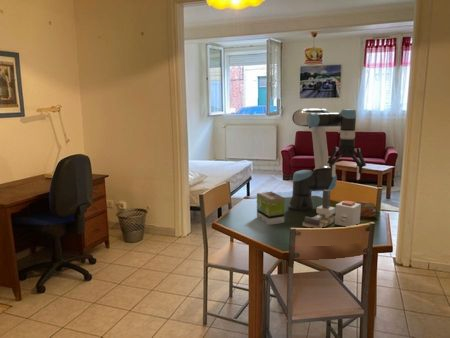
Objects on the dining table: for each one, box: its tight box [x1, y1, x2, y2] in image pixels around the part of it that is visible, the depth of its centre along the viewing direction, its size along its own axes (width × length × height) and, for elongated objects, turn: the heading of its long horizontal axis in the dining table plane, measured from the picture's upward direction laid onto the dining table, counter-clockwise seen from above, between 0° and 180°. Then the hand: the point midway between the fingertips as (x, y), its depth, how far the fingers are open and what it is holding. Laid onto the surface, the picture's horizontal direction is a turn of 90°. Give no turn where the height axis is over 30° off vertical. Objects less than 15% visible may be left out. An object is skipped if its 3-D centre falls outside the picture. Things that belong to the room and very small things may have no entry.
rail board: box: [302, 213, 335, 229], centre depth 215 cm, size 24×10×5 cm, turn 140°
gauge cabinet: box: [334, 200, 361, 227], centre depth 212 cm, size 10×11×11 cm
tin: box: [354, 201, 378, 218], centre depth 226 cm, size 15×3×8 cm, turn 68°
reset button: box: [341, 200, 356, 206], centre depth 211 cm, size 5×5×3 cm
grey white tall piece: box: [315, 189, 336, 218], centre depth 217 cm, size 7×8×15 cm
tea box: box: [256, 191, 286, 226], centre depth 218 cm, size 15×10×15 cm
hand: (345, 178), depth 208 cm, fingers open, 13 cm apart
